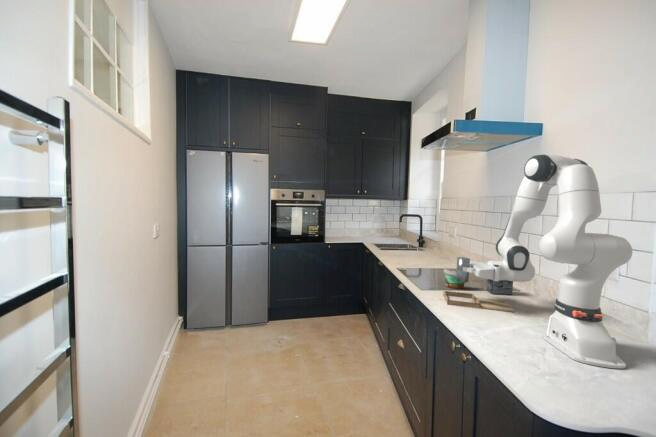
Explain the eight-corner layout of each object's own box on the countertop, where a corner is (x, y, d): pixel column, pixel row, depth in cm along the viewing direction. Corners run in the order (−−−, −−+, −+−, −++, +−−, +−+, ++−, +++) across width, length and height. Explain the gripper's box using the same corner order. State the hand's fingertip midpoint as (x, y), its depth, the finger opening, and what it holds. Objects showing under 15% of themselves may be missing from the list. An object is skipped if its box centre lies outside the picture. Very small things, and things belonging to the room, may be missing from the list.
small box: (506, 291, 155) (507, 272, 154) (512, 295, 148) (514, 276, 148) (485, 290, 156) (487, 271, 155) (491, 294, 150) (493, 274, 149)
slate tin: (469, 283, 133) (471, 260, 133) (457, 281, 135) (458, 259, 134) (467, 279, 139) (468, 257, 138) (454, 278, 140) (456, 256, 139)
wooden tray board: (515, 312, 126) (515, 307, 125) (447, 304, 133) (447, 300, 132) (504, 301, 139) (504, 297, 139) (443, 294, 146) (443, 290, 146)
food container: (443, 288, 157) (444, 270, 156) (442, 285, 163) (443, 268, 162) (467, 291, 153) (469, 273, 152) (466, 288, 159) (467, 270, 158)
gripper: (486, 259, 143) (457, 256, 146) (500, 268, 123) (466, 265, 126) (486, 271, 143) (456, 268, 147) (499, 282, 124) (465, 279, 127)
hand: (461, 267), depth 136 cm, fingers closed on slate tin, 5 cm apart
